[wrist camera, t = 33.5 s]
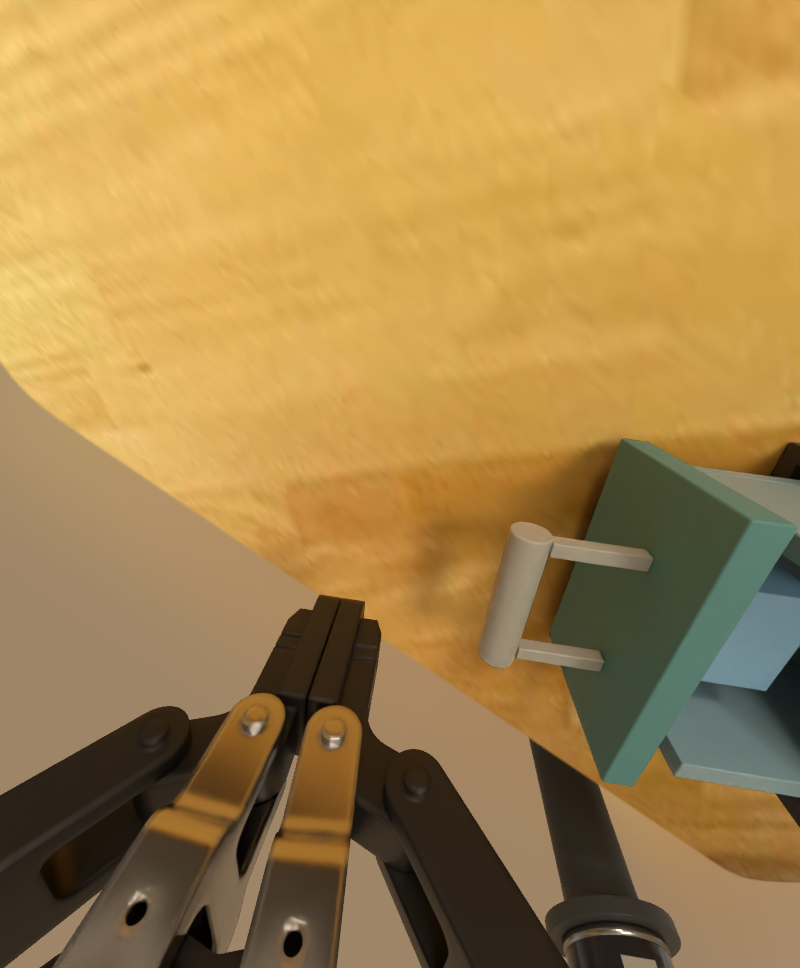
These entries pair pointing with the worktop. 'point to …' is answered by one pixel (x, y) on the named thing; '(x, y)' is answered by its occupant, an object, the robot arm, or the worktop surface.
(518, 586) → the teal drawer
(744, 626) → the pale blue rectangular block
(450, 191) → the worktop surface
